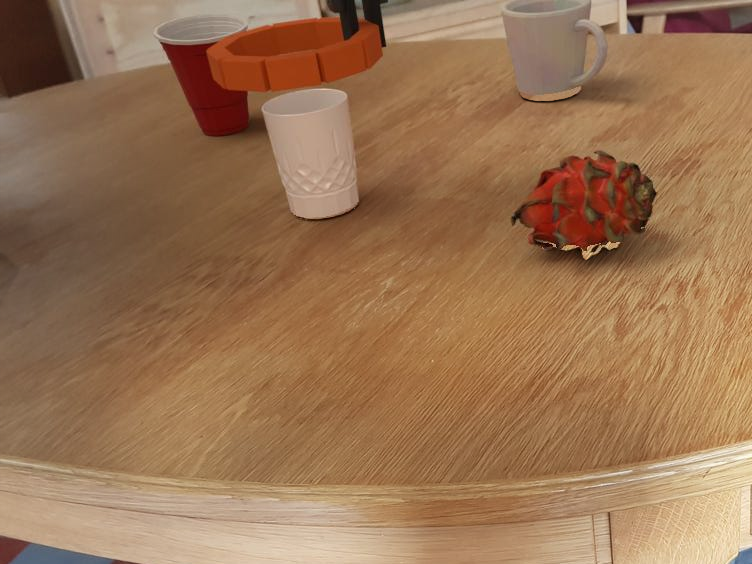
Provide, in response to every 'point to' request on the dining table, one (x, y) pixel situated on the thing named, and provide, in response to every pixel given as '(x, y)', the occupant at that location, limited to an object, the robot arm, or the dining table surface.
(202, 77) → the plastic cup
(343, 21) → the robot arm
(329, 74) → the ring
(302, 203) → the white cup
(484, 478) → the dining table surface
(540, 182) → the dragon fruit
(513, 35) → the mug
